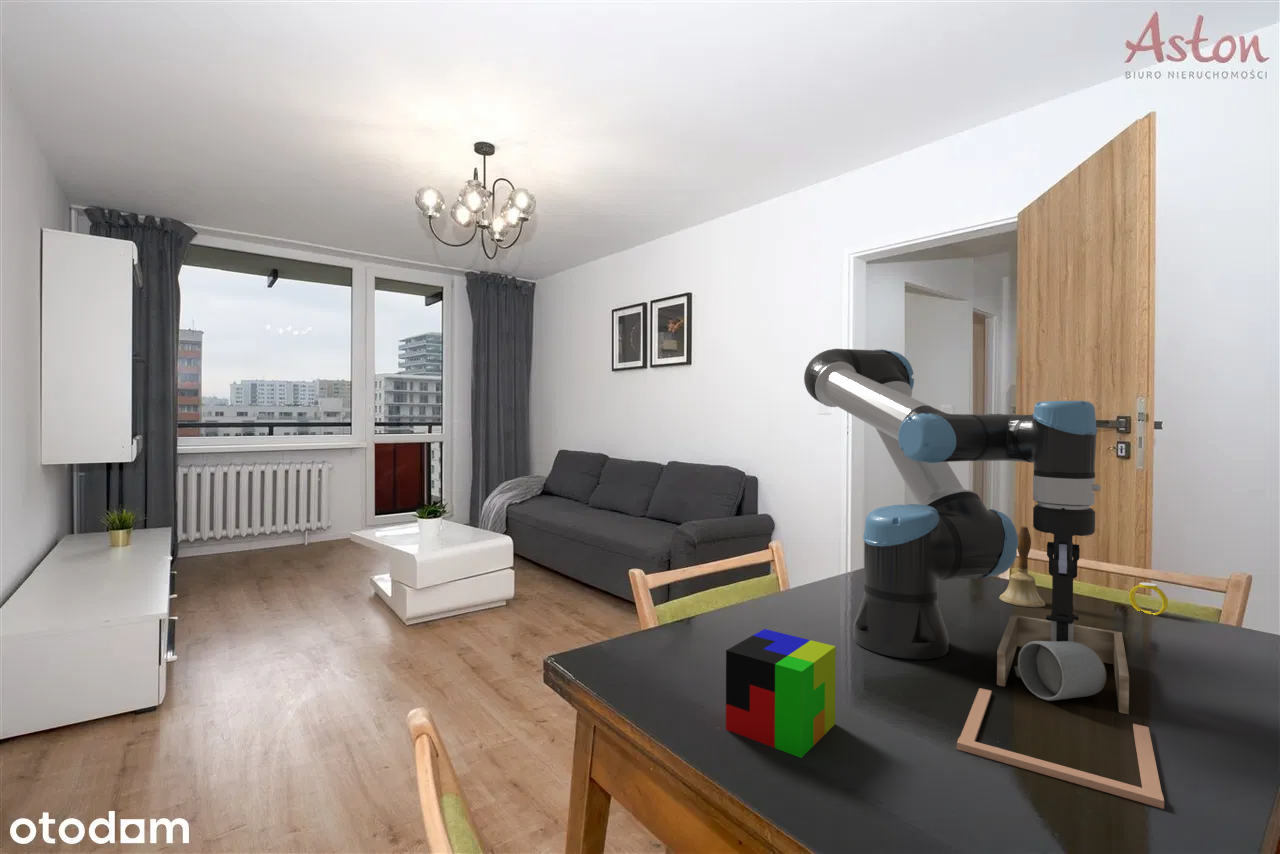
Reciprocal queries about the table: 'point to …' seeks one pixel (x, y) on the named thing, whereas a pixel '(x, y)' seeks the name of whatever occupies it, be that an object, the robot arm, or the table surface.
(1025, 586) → the hand bell
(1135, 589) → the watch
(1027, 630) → the frame
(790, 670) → the puzzle toy
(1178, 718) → the table surface
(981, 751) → the terracotta bay
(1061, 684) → the ceramic mug
